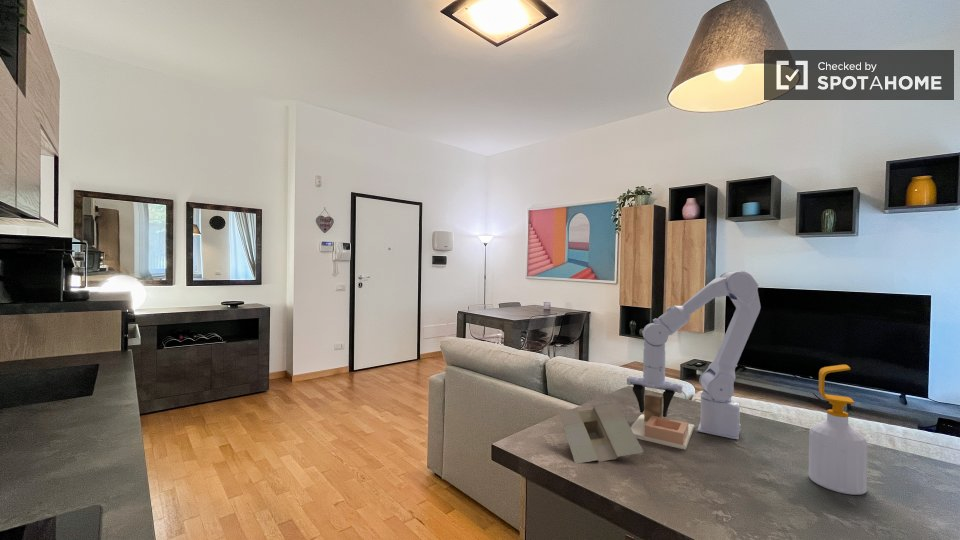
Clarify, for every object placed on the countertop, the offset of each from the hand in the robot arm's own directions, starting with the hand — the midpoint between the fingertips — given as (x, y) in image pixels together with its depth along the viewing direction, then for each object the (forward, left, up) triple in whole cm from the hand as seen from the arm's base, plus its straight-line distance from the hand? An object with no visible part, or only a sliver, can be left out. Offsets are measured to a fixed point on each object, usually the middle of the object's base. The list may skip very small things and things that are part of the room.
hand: (653, 413), depth 116 cm
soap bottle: (-38, +13, -3) cm, 40 cm away
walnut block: (0, 0, -2) cm, 2 cm away
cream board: (-3, +5, -3) cm, 7 cm away
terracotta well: (-5, +9, -2) cm, 10 cm away
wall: (+7, +26, -3) cm, 27 cm away
